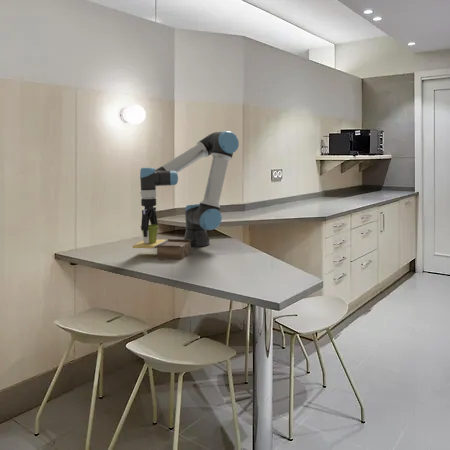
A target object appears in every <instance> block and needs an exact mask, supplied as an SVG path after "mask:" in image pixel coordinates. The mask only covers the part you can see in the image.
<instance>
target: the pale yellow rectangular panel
mask: <svg viewBox="0 0 450 450" xmlns="http://www.w3.org/2000/svg"><path fill="white" fill-rule="evenodd" d="M167 241H168V239H156V242H155V243H144V241H143V240H141V241H139V242H136V244H133V245H132V248H133V249H157V245H162V244H164V243H166V242H167Z"/></svg>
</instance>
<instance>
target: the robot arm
mask: <svg viewBox="0 0 450 450" xmlns="http://www.w3.org/2000/svg"><path fill="white" fill-rule="evenodd" d="M239 145H240V143H239V138H238V137H237V135H236V134H235V133H234V132H232V131H228V130H223V131H215V132H212V133H210V134H208V135H207V136H205V137H204V138H202V139H201V140H199V141H197V142H196V145H194V146H193V147H190V148H189V149H188V150H186V151H185V152H183V153H181V154H179V155H178V156H176V157H174V158H173V159H171V160H170V161H169V160H168V162H166V163H164V164H163V165H161V166H159V167H158V168H155V167H142V168H140V171H139V174H140V176H139V178H140V179H139V180H140V192H139V194H140V197H141V199H140V205H141V206H142V207H144V209H142V210H141V225H140V226H141V227H140V230H141V231H142V230H143V233H142V238H143V240H142V241H144V243H149V230H148V226H149V225H159V223H158V217H157V208H156V206H157V199H156V197H157V190H156V189H157V188H156V187H159V186H161V187H163V186H165V187H166V186H168V187H169V186H176V185H177V184H178V182H179V175H178V173H179V172H181V171H182V170H184V169H186V168H188V167H189V166H191V165H192V164H194V163H196V162H198V161H199V160H200V159H202V158H208V157H209V156H210V155H211V156H212V160H211V161H212V162H211V166H210V169H209V174H208V178H207V183H206V187H205V190H204V194H203V195H204V196H203V200H201V201H200V202H199V203H197V204H196V203H195V204H187V205H186V206H185V211H184V212H185V234H184V237H183V239H190V246H191V247H194V248H197V247H198V248H199V247H207V246H209V245H210V243H211V241H210V238H209V234H208V232H207V231H212V230H213V231H214V230H215V229H217V228H218V227H219V226H220V225H221V222H222V219H223V216H222V214H221V206H220V199H221V195H222V190H223V185H224V182H225V177H226V174H227V173H226V172H227V168H228V166H229V165H228V164H229V161H231V160H232V159H233V155H234V153H235V152H236V151H237V150H238V148H239ZM156 240H158V239H157V238H156Z"/></svg>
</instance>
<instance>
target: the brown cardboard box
mask: <svg viewBox="0 0 450 450" xmlns="http://www.w3.org/2000/svg"><path fill="white" fill-rule="evenodd" d="M167 240H168V241H167V242H166V243H164V244H162V245H157V248H156V252H157V253H156V254H157V260H174V261H175V260H176V261H181V260H183V259H184V258H186V256H188V255H190V254H191V252H192V251H191V250H192V248H191V246H190V239H184V238H183V239H181V238H168V239H167Z"/></svg>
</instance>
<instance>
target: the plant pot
mask: <svg viewBox="0 0 450 450" xmlns="http://www.w3.org/2000/svg"><path fill="white" fill-rule="evenodd" d="M159 227H160V225H159V224H158V225H151V224H149V226H148V230H149V243H155V242H156V240H157V239H156V238H157V237H158V229H159ZM140 228H141V225H140ZM141 232H142V234H143V230H141Z"/></svg>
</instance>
